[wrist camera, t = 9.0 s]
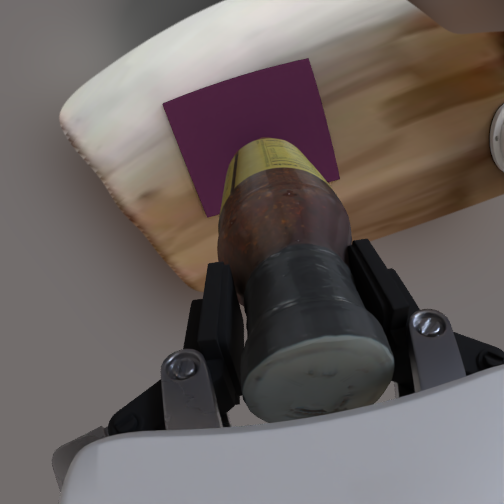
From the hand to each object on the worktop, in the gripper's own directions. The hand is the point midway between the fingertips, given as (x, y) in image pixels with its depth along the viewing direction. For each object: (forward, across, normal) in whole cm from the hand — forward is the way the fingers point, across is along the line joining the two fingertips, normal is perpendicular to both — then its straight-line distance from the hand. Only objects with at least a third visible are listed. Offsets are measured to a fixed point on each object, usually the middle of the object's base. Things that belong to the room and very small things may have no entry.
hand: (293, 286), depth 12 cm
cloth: (+30, 0, 0) cm, 30 cm away
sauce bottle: (+15, 0, 0) cm, 15 cm away
